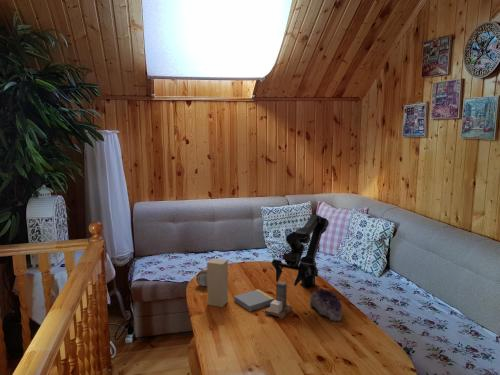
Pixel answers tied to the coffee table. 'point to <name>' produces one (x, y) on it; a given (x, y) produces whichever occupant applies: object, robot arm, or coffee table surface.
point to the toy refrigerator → (217, 282)
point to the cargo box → (276, 306)
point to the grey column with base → (280, 296)
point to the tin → (202, 278)
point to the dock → (253, 300)
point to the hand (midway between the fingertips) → (285, 283)
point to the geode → (327, 304)
